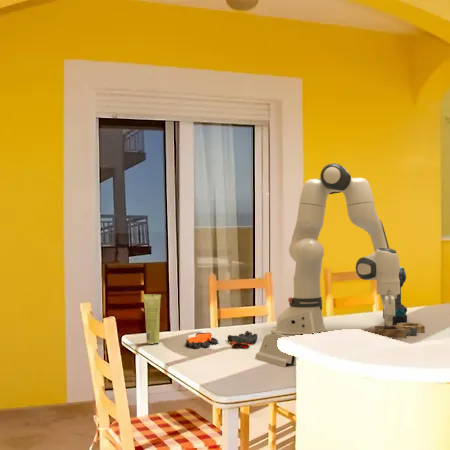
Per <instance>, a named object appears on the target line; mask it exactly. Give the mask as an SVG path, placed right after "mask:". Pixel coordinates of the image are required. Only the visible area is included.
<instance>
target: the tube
mask: <svg viewBox="0 0 450 450" xmlns="http://www.w3.org/2000/svg"><path fill="white" fill-rule="evenodd" d="M142 295H143V296H142V297H143V302H144V303H143V305H144V314H145V315H144V316H145V331H146V332H145V333H146V335H145V337H146V343H147V342H148V343H157V342H159V343H160V318H161V317H160V313H161V310H160V309H161V299H162V294H154V293H153V294H148V293H146V294H145V293H143V294H142Z"/></svg>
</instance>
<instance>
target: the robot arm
mask: <svg viewBox="0 0 450 450" xmlns="http://www.w3.org/2000/svg"><path fill="white" fill-rule="evenodd" d="M319 177H320V178H310V179H308V180H306V181H305V182H304V183H303V187H302V190H301V193H300V198H299V204H298V210H297V215H296V223H295V225H294V226H295V227H294V230H293V234H292V237H291V242H290V245H289V246H288V247H289V248H288V252H289V255H290V257H291V258H292V260H293V261H295V270H294V275H293V297H288V298H287V301H288V303H289V307H287V308H286V309H285V310H284V311H282V312H281V313H280V314H279V315H278V317H277V319H276V326H273V327H271V333H272V334H281V335H300V334H311V333H313V332H314V333H315V334H319V332H320V333H324V332H326V331H327V330H326V327H325V323H324V317H323V313H322V310H323V298H322V295H321V273H322V268H323V267H322V265H323V258H324V255H325V250H324V246H323V245H322V244H321V242H320V241H318V238H319V236H320V233H321V230H322V228H323V226H324V220H325V213H326V207H327V199H328V196H329V195H334V194H339V193H342V194H343V195H344V197H345V202H346V211H347V216H348V219H349V221H350V222H351V223H352V224H353V225H355V227H358V228H360V229H363V230H364V231H366V232H367V233H368V235H369V236H370V240H371V243H372V246H373V250H374V252H373V253H371V254H369V255H365V256H362V257H360V258H358V260H357V261H356V263H355V273H356V275H357V276H358V278H360V279H361V280H365V281H372V280H373V281H375V280H376V294H377V295H378V296H379V295H380V296H379V297H380V299H381V302H382V310H383V309H384V312H385V315H386V316H387V325H388V326H392V318H393V316H395V299H396V298H397V295H398V294H400V280H399V271H400V269H399V266H400V259H399V254H398V252H397V250H395V249H394V248H390V246H389V242H388V238H387V235H386V231H385V227H384V225H383V222H382V220H381V219H380V217H379V215H378V213H377V210H376V206H375V201H374V195H373V191H372V188H371V185H370V182H369V181H368V180H367V179H366V178H365V177H364V178H363V177H352V175H351V173H350V172H349V170H348V169H347V168H346V167H344V166H343V165H341V164H339V163H334V162H333V163H328V164H327V165H325V166H324V167H322V169H321V171H320V176H319ZM300 336H301V335H300Z"/></svg>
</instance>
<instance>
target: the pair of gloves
mask: <svg viewBox="0 0 450 450" xmlns="http://www.w3.org/2000/svg"><path fill="white" fill-rule="evenodd" d="M211 336H212V337H211ZM227 340H228V341H227V342H229V343H230V344H231V347H232V349H233V350H235V349H238V348H240V349H243V350H245V349H249V348H250V346H251V345H253V344H255V343H256V342H257V340H258V333H254V334H253V332H251V331H249V330H245V332H244V333H240V334H238V335H231V334H229V335H227ZM185 341H186V343H185V346H186V347H187V348H190V349H194V350H198V349H201V348H203V349H209V348H210V346H211V345H212V346H213V345H214V346H215V345H216V344H219V341H218V339H217V338H215V337H213V335H212V333H211V332H196V334H195V336H192V337H189V338H187V339H186V340H185Z"/></svg>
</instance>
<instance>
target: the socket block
mask: <svg viewBox="0 0 450 450" xmlns="http://www.w3.org/2000/svg"><path fill="white" fill-rule="evenodd" d="M374 334H375V335H376V334H379V335H382V336H387V337H393V338H392V339H395V338H394V337H406V338H407V335H406V330H405V329H404V328H403V327H402V326H400V325H397V324H396V325H393V329H384V325H375V326H374Z"/></svg>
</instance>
